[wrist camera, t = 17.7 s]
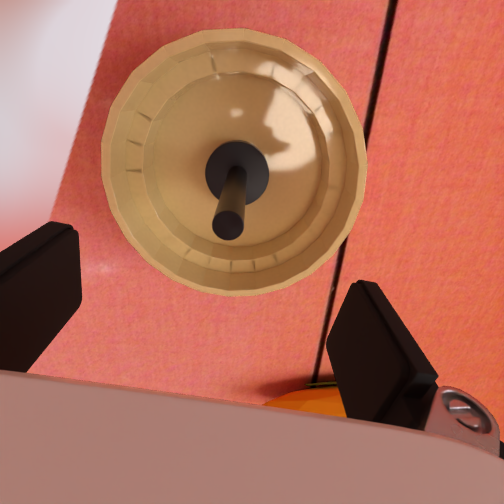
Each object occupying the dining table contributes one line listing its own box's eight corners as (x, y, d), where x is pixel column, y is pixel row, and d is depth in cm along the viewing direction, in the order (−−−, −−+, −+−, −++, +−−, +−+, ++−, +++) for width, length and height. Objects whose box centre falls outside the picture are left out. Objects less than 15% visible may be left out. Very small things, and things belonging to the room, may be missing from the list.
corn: (414, 458, 39) (258, 462, 39) (388, 407, 46) (257, 410, 46) (425, 418, 36) (257, 422, 36) (396, 369, 43) (256, 373, 43)
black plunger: (194, 174, 29) (152, 229, 17) (234, 125, 27) (220, 145, 15) (240, 213, 31) (233, 289, 19) (281, 170, 29) (304, 222, 17)
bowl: (94, 177, 30) (52, 197, 24) (225, -20, 23) (216, -64, 17) (246, 291, 36) (245, 331, 30) (384, 163, 29) (420, 179, 23)
